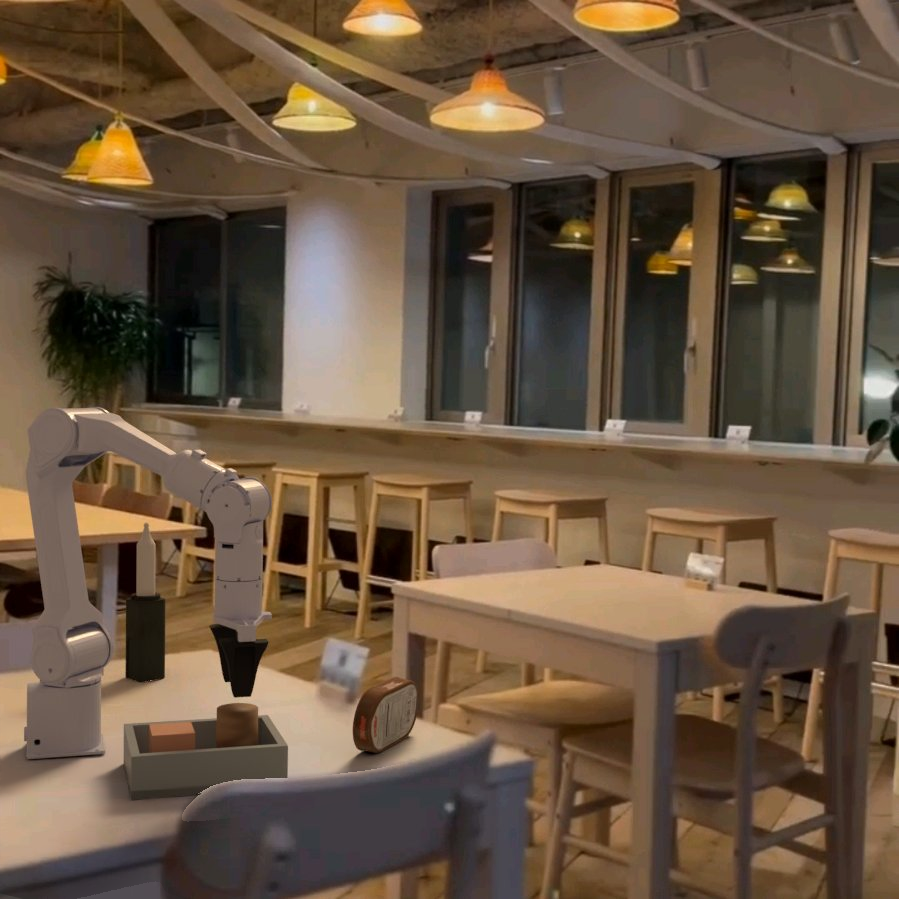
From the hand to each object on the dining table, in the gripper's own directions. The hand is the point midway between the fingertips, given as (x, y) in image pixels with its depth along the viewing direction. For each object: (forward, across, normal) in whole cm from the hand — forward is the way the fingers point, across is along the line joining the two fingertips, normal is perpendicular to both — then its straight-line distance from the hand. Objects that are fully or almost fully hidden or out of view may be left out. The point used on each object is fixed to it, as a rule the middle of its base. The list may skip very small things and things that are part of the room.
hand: (237, 688), depth 152 cm
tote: (+10, 0, +4) cm, 11 cm away
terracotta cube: (+9, 0, +8) cm, 12 cm away
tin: (+11, +7, -21) cm, 25 cm away
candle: (+11, +52, +7) cm, 54 cm away
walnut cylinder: (+9, 0, 0) cm, 9 cm away
